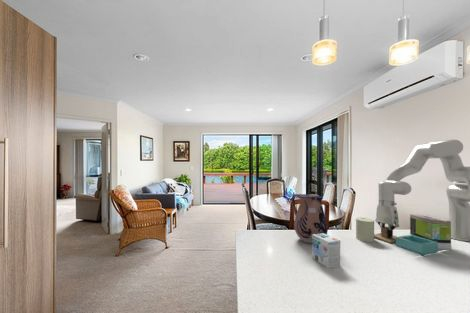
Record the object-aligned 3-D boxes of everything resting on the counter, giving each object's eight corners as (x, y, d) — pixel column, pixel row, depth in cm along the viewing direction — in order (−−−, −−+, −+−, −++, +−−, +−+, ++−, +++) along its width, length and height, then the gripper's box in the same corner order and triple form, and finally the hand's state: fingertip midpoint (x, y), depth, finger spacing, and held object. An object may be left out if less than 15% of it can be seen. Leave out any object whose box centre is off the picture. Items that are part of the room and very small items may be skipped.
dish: (410, 244, 121) (410, 234, 121) (437, 252, 109) (437, 242, 110) (396, 246, 116) (395, 237, 116) (422, 255, 105) (422, 245, 105)
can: (370, 237, 130) (370, 217, 130) (377, 243, 121) (377, 221, 121) (353, 236, 131) (353, 216, 132) (359, 242, 122) (359, 220, 122)
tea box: (452, 250, 113) (451, 220, 113) (432, 250, 113) (431, 220, 113) (427, 240, 128) (427, 213, 128) (409, 239, 128) (409, 213, 128)
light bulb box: (311, 257, 101) (311, 233, 102) (323, 256, 104) (323, 232, 104) (328, 268, 91) (328, 241, 92) (341, 266, 93) (341, 240, 94)
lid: (383, 234, 134) (383, 224, 134) (404, 240, 124) (404, 229, 124) (370, 236, 130) (370, 226, 130) (390, 243, 119) (390, 231, 119)
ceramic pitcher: (320, 249, 111) (320, 199, 112) (282, 239, 125) (283, 194, 126) (332, 240, 124) (332, 195, 125) (296, 232, 138) (296, 191, 139)
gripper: (406, 205, 121) (406, 239, 121) (377, 200, 136) (377, 230, 136) (397, 206, 118) (397, 241, 118) (368, 201, 133) (368, 232, 133)
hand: (386, 235), depth 127 cm, fingers closed on lid, 3 cm apart
